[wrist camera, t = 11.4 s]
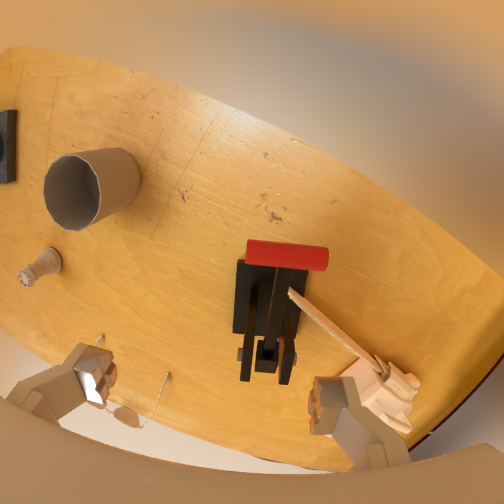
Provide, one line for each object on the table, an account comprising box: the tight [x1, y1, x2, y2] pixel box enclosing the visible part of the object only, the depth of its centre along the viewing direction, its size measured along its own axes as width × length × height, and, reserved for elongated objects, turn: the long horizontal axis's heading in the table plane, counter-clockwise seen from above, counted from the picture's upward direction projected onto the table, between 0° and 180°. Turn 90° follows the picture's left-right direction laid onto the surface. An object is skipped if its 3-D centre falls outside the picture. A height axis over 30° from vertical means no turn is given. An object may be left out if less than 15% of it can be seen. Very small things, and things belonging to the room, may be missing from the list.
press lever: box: [245, 239, 329, 373], centre depth 25 cm, size 16×6×2 cm, turn 175°
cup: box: [43, 148, 141, 232], centre depth 31 cm, size 8×8×10 cm
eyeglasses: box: [86, 335, 169, 429], centre depth 47 cm, size 15×18×4 cm
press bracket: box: [233, 259, 308, 385], centre depth 34 cm, size 11×9×14 cm
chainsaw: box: [288, 286, 421, 437], centre depth 38 cm, size 15×35×12 cm, turn 47°
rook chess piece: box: [18, 247, 61, 287], centre depth 37 cm, size 4×4×8 cm
